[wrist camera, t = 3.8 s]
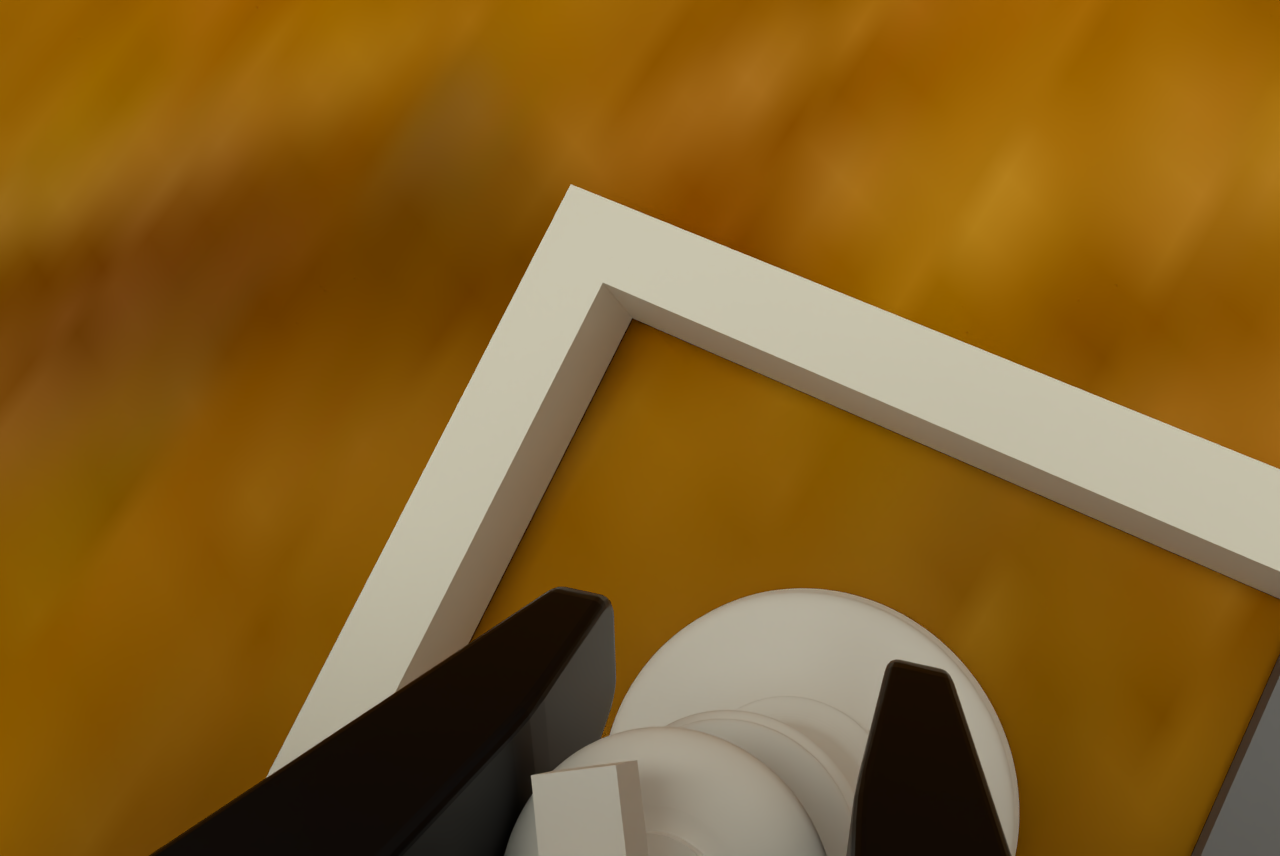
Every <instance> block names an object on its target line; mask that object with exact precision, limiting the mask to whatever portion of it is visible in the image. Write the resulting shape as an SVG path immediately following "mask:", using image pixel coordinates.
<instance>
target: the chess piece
mask: <svg viewBox="0 0 1280 856" xmlns="http://www.w3.org/2000/svg"><path fill="white" fill-rule="evenodd" d="M895 659H898V660H904V661H908V662H913V663H917V664H922V665H927V666H931V667H936V668H940V669H943V670H945V671H946V672H947V673H949V674H950V676H951V678H952V680H953V682H954V685H955V688H956V691H957V694H958V697H959V700H960V703H961V706H962V709H963V712H964V715H965V718H966V721H967V724H968V727H969V730H970V733H971V736H972V739H973V742H974V745H975V748H976V751H977V754H978V757H979V760H980V763H981V766H982V769H983V772H984V775H985V778H986V781H987V784H988V787H989V790H990V793H991V796H992V799H993V802H994V805H995V808H996V811H997V814H998V817H999V820H1000V823H1001V826H1002V829H1003V832H1004V835H1005V838H1006V841H1007V844H1008V847H1009V850H1010V853H1011V856H1015V854H1016V849H1017V842H1018V833H1019V793H1018V784H1017V777H1016V772H1015V767H1014V762H1013V758H1012V754H1011V751H1010V747H1009V744H1008V741H1007V738H1006V735H1005V733H1004V730H1003V727H1002V725H1001V723H1000V720H999V718H998V716H997V714H996V712H995V710H994V708H993V706H992V704H991V702H990V701H989V699H988V697H987V696H986V694H985V692H984V691H983V689H982V688H981V686H980V685H979V683H978V682H977V680H976V679H975V678H974V676H973V675H972V674H971V672H970V671H969V670H968V669H967V667H966V666H965V665H964V664H963V663H962V662H961V660H960V659H959V658H958V657H957V656H956V655H955V654H954V653H953V652H952V651H951V650H950V649H949V648H948V647H947V646H946V645H945V644H944V643H942V642H941V641H940V640H939V639H938V638H937V637H935V636H934V635H933V634H932V633H930V632H929V631H928V630H926V629H925V628H924V627H922V626H921V625H919V624H918V623H916V622H915V621H913V620H911V619H910V618H908V617H906V616H905V615H903V614H901V613H899V612H897V611H895V610H893V609H891V608H889V607H887V606H885V605H882V604H880V603H877V602H875V601H872V600H869V599H866V598H863V597H860V596H856V595H852V594H848V593H844V592H839V591H833V590H825V589H813V588H793V589H781V590H773V591H767V592H762V593H758V594H754V595H750V596H747V597H743V598H740V599H738V600H735V601H732V602H730V603H727V604H725V605H723V606H721V607H718V608H716V609H714V610H712V611H711V612H709V613H707V614H705V615H704V616H702V617H700V618H698V619H697V620H695V621H693V622H692V623H690V624H689V625H687V626H686V627H685V628H683V629H682V630H681V631H679V632H678V633H677V634H676V635H674V636H673V637H672V638H671V639H670V640H668V641H667V642H666V643H665V644H664V645H663V646H662V647H661V648H660V649H659V650H658V651H657V652H656V653H655V654H654V655H653V657H652V658H651V659H650V660H649V661H648V662H647V664H646V665H645V666H644V668H643V669H642V670H641V672H640V673H639V674H638V676H637V677H636V679H635V680H634V682H633V683H632V685H631V687H630V688H629V690H628V692H627V694H626V696H625V698H624V700H623V702H622V704H621V706H620V708H619V710H618V713H617V715H616V718H615V720H614V723H613V726H612V729H611V732H610V735H609V736H607V737H604V738H602V739H599V740H597V741H595V742H593V743H591V744H589V745H587V746H585V747H584V748H582V749H580V750H579V751H577V752H575V753H574V754H573V755H571V756H570V757H568V758H567V759H566V760H564V761H563V762H562V763H561V764H560V765H558V766H557V767H556V768H555V769H554V770H553V771H550V772H545V773H540V774H535V775H531V782H532V792H533V794H532V795H531V797H530V798H529V800H528V801H527V803H526V805H525V806H524V808H523V810H522V811H521V813H520V815H519V817H518V819H517V821H516V823H515V825H514V828H513V830H512V833H511V835H510V838H509V841H508V844H507V847H506V850H505V854H504V856H846V854H847V846H848V838H849V830H850V823H851V815H852V807H853V800H854V794H855V789H856V784H857V779H858V775H859V771H860V767H861V763H862V759H863V755H864V751H865V747H866V743H867V739H868V735H869V731H870V727H871V723H872V719H873V715H874V711H875V707H876V703H877V699H878V696H879V692H880V688H881V684H882V680H883V676H884V672H885V669H886V666H887V664H888V663H889V662H890V661H892V660H895Z"/></svg>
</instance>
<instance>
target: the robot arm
mask: <svg viewBox="0 0 1280 856" xmlns="http://www.w3.org/2000/svg"><path fill="white" fill-rule="evenodd" d="M615 684H616V664H615V636H614V613H613V608H612V605H611V602H610V600H609V599H608V598H606V597H605V596H603V595H600V594H596V593H591V592H587V591H582V590H577V589H573V588H568V587H557V588H554V589H551V590H549V591H547V592H546V593H544V594H543V595H541V596H540V597H538V598H537V599H535V600H534V601H532V602H531V603H529V604H528V605H526V606H525V607H523V608H522V609H520V610H519V611H517V612H516V613H514V614H513V615H511V616H510V617H508V618H507V619H505V620H504V621H502V622H501V623H499V624H498V625H496V626H495V627H493V628H492V629H490V630H489V631H487V632H486V633H484V634H483V635H481V636H480V637H478V638H477V639H475V640H474V641H472V642H471V643H469V644H468V645H466V646H465V647H463V648H461V649H460V650H458V651H457V652H455V653H454V654H452V655H451V656H449V657H448V658H446V659H445V660H443V661H442V662H440V663H439V664H437V665H436V666H434V667H433V668H431V669H430V670H428V671H427V672H425V673H424V674H422V675H421V676H419V677H418V678H416V679H415V680H413V681H412V682H410V683H409V684H407V685H406V686H404V687H403V688H401V689H400V690H398V691H397V692H395V693H394V694H392V695H391V696H389V697H388V698H386V699H385V700H383V701H382V702H380V703H379V704H377V705H376V706H374V707H373V708H371V709H369V710H368V711H366V712H365V713H363V714H362V715H360V716H359V717H357V718H356V719H354V720H353V721H351V722H350V723H348V724H347V725H345V726H344V727H342V728H341V729H339V730H338V731H336V732H335V733H333V734H332V735H330V736H329V737H327V738H326V739H324V740H323V741H321V742H320V743H318V744H317V745H315V746H314V747H312V748H311V749H309V750H308V751H306V752H305V753H303V754H302V755H300V756H299V757H297V758H296V759H294V760H293V761H291V762H290V763H288V764H287V765H285V766H284V767H282V768H281V769H279V770H277V771H276V772H274V773H273V774H271V775H270V776H268V777H267V778H265V779H264V780H262V781H261V782H259V783H258V784H256V785H255V786H253V787H252V788H250V789H249V790H247V791H246V792H244V793H243V794H241V795H240V796H238V797H237V798H235V799H234V800H232V801H231V802H229V803H228V804H226V805H225V806H223V807H222V808H220V809H219V810H217V811H216V812H214V813H213V814H211V815H210V816H208V817H207V818H205V819H204V820H202V821H201V822H199V823H198V824H196V825H195V826H193V827H192V828H190V829H189V830H187V831H186V832H184V833H182V834H181V835H179V836H178V837H176V838H175V839H173V840H172V841H170V842H169V843H167V844H166V845H164V846H163V847H161V848H160V849H158V850H157V851H155V852H154V853H152V854H151V855H149V856H504V854H505V850H506V847H507V844H508V841H509V838H510V835H511V833H512V830H513V828H514V825H515V823H516V821H517V819H518V817H519V815H520V813H521V811H522V810H523V808H524V806H525V805H526V803H527V801H528V800H529V798H530V797H531V795H532V794H533V792H532V782H531V775H535V774H540V773H545V772H550V771H553V770H554V769H555V768H556V767H557V766H558V765H560V764H561V763H562V762H563V761H564V760H566V759H567V758H568V757H570V756H571V755H573V754H574V753H575V752H577V751H579V750H580V749H582V748H584V747H585V746H587V745H589V744H591V743H593V742H595V741H597V740H599V739H601V736H602V733H603V730H604V727H605V724H606V721H607V718H608V715H609V712H610V709H611V706H612V701H613V697H614V692H615ZM846 856H1011V853H1010V850H1009V847H1008V844H1007V841H1006V838H1005V835H1004V832H1003V829H1002V826H1001V823H1000V820H999V817H998V814H997V811H996V808H995V805H994V802H993V799H992V796H991V793H990V790H989V787H988V784H987V781H986V778H985V775H984V772H983V769H982V766H981V763H980V760H979V757H978V754H977V751H976V748H975V745H974V742H973V739H972V736H971V733H970V730H969V727H968V724H967V721H966V718H965V715H964V712H963V709H962V706H961V703H960V700H959V697H958V694H957V691H956V688H955V685H954V682H953V680H952V678H951V676H950V674H949V673H947V672H946V671H945V670H943V669H940V668H936V667H931V666H927V665H922V664H917V663H913V662H908V661H904V660H898V659H895V660H892V661H890V662H889V663H888V664H887V666H886V669H885V672H884V676H883V680H882V684H881V688H880V692H879V696H878V699H877V703H876V707H875V711H874V715H873V719H872V723H871V727H870V731H869V735H868V739H867V743H866V747H865V751H864V755H863V759H862V763H861V767H860V771H859V775H858V779H857V784H856V789H855V794H854V800H853V807H852V815H851V823H850V830H849V838H848V846H847V854H846Z"/></svg>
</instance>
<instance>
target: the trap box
mask: <svg viewBox="0 0 1280 856" xmlns="http://www.w3.org/2000/svg"><path fill="white" fill-rule="evenodd" d="M632 318H633V319H635V320H638V321H640V322H642V323H645V324H647V325H649V326H652V327H654V328H656V329H658V330H661V331H663V332H665V333H668V334H670V335H672V336H675V337H677V338H679V339H681V340H684V341H686V342H688V343H691V344H693V345H695V346H698V347H700V348H702V349H705V350H707V351H709V352H711V353H714V354H716V355H718V356H721V357H723V358H725V359H728V360H730V361H732V362H734V363H737V364H739V365H741V366H744V367H746V368H748V369H751V370H753V371H755V372H758V373H760V374H762V375H764V376H767V377H769V378H771V379H774V380H776V381H778V382H781V383H783V384H785V385H788V386H790V387H792V388H794V389H797V390H799V391H801V392H804V393H806V394H808V395H811V396H813V397H815V398H817V399H820V400H822V401H824V402H827V403H829V404H831V405H834V406H836V407H838V408H841V409H843V410H845V411H847V412H850V413H852V414H854V415H857V416H859V417H861V418H864V419H866V420H868V421H871V422H873V423H875V424H877V425H880V426H882V427H884V428H887V429H889V430H891V431H894V432H896V433H898V434H900V435H903V436H905V437H907V438H910V439H912V440H914V441H917V442H919V443H921V444H924V445H926V446H928V447H930V448H933V449H935V450H937V451H940V452H942V453H944V454H947V455H949V456H951V457H953V458H956V459H958V460H960V461H963V462H965V463H967V464H970V465H972V466H974V467H977V468H979V469H981V470H983V471H986V472H988V473H990V474H993V475H995V476H997V477H1000V478H1002V479H1004V480H1007V481H1009V482H1011V483H1013V484H1016V485H1018V486H1020V487H1023V488H1025V489H1027V490H1030V491H1032V492H1034V493H1036V494H1039V495H1041V496H1043V497H1046V498H1048V499H1050V500H1053V501H1055V502H1057V503H1060V504H1062V505H1064V506H1066V507H1069V508H1071V509H1073V510H1076V511H1078V512H1080V513H1083V514H1085V515H1087V516H1090V517H1092V518H1094V519H1096V520H1099V521H1101V522H1103V523H1106V524H1108V525H1110V526H1113V527H1115V528H1117V529H1119V530H1122V531H1124V532H1126V533H1129V534H1131V535H1133V536H1136V537H1138V538H1140V539H1143V540H1145V541H1147V542H1149V543H1152V544H1154V545H1156V546H1159V547H1161V548H1163V549H1166V550H1168V551H1170V552H1173V553H1175V554H1177V555H1179V556H1182V557H1184V558H1186V559H1189V560H1191V561H1193V562H1196V563H1198V564H1200V565H1202V566H1205V567H1207V568H1209V569H1212V570H1214V571H1216V572H1219V573H1221V574H1223V575H1226V576H1228V577H1230V578H1232V579H1235V580H1237V581H1239V582H1242V583H1244V584H1246V585H1249V586H1251V587H1253V588H1255V589H1258V590H1260V591H1262V592H1265V593H1267V594H1269V595H1272V596H1274V597H1276V598H1279V599H1280V469H1277V468H1275V467H1273V466H1270V465H1268V464H1265V463H1263V462H1260V461H1258V460H1255V459H1253V458H1250V457H1248V456H1245V455H1243V454H1240V453H1238V452H1235V451H1233V450H1230V449H1228V448H1225V447H1223V446H1220V445H1218V444H1215V443H1213V442H1210V441H1208V440H1205V439H1203V438H1200V437H1198V436H1195V435H1193V434H1190V433H1188V432H1185V431H1183V430H1180V429H1178V428H1176V427H1173V426H1171V425H1168V424H1166V423H1163V422H1161V421H1158V420H1156V419H1153V418H1151V417H1148V416H1146V415H1143V414H1141V413H1138V412H1136V411H1133V410H1131V409H1128V408H1126V407H1123V406H1121V405H1118V404H1116V403H1113V402H1111V401H1108V400H1106V399H1103V398H1101V397H1098V396H1096V395H1093V394H1091V393H1088V392H1086V391H1083V390H1081V389H1079V388H1076V387H1074V386H1071V385H1069V384H1066V383H1064V382H1061V381H1059V380H1056V379H1054V378H1051V377H1049V376H1046V375H1044V374H1041V373H1039V372H1036V371H1034V370H1031V369H1029V368H1026V367H1024V366H1021V365H1019V364H1016V363H1014V362H1011V361H1009V360H1006V359H1004V358H1001V357H999V356H996V355H994V354H991V353H989V352H986V351H984V350H982V349H979V348H977V347H974V346H972V345H969V344H967V343H964V342H962V341H959V340H957V339H954V338H952V337H949V336H947V335H944V334H942V333H939V332H937V331H934V330H932V329H929V328H927V327H924V326H922V325H919V324H917V323H914V322H912V321H909V320H907V319H904V318H902V317H899V316H897V315H894V314H892V313H889V312H887V311H885V310H882V309H880V308H877V307H875V306H872V305H870V304H867V303H865V302H862V301H860V300H857V299H855V298H852V297H850V296H847V295H845V294H842V293H840V292H837V291H835V290H832V289H830V288H827V287H825V286H822V285H820V284H817V283H815V282H812V281H810V280H807V279H805V278H802V277H800V276H797V275H795V274H792V273H790V272H787V271H785V270H783V269H780V268H778V267H775V266H773V265H770V264H768V263H765V262H763V261H760V260H758V259H755V258H753V257H750V256H748V255H745V254H743V253H740V252H738V251H735V250H733V249H730V248H728V247H725V246H723V245H720V244H718V243H715V242H713V241H710V240H708V239H705V238H703V237H700V236H698V235H695V234H693V233H690V232H688V231H686V230H683V229H681V228H678V227H676V226H673V225H671V224H668V223H666V222H663V221H661V220H658V219H656V218H653V217H651V216H648V215H646V214H643V213H641V212H638V211H636V210H633V209H631V208H628V207H626V206H623V205H621V204H618V203H616V202H613V201H611V200H608V199H606V198H603V197H601V196H598V195H596V194H593V193H591V192H589V191H586V190H584V189H581V188H579V187H576V186H574V185H570V187H569V189H568V191H567V193H566V195H565V197H564V199H563V201H562V202H561V204H560V206H559V208H558V210H557V212H556V214H555V216H554V218H553V220H552V222H551V224H550V226H549V228H548V230H547V232H546V234H545V236H544V238H543V239H542V241H541V243H540V245H539V247H538V249H537V251H536V253H535V255H534V257H533V259H532V261H531V263H530V265H529V267H528V269H527V271H526V273H525V275H524V276H523V278H522V280H521V282H520V284H519V286H518V288H517V290H516V292H515V294H514V296H513V298H512V300H511V302H510V304H509V306H508V308H507V310H506V312H505V314H504V315H503V317H502V319H501V321H500V323H499V325H498V327H497V329H496V331H495V333H494V335H493V337H492V339H491V341H490V343H489V345H488V347H487V349H486V351H485V352H484V354H483V356H482V358H481V360H480V362H479V364H478V366H477V368H476V370H475V372H474V374H473V376H472V378H471V380H470V382H469V384H468V386H467V388H466V389H465V391H464V393H463V395H462V397H461V399H460V401H459V403H458V405H457V407H456V409H455V411H454V413H453V415H452V417H451V419H450V421H449V423H448V425H447V426H446V428H445V430H444V432H443V434H442V436H441V438H440V440H439V442H438V444H437V446H436V448H435V450H434V452H433V454H432V456H431V458H430V460H429V462H428V463H427V465H426V467H425V469H424V471H423V473H422V475H421V477H420V479H419V481H418V483H417V485H416V487H415V489H414V491H413V493H412V495H411V497H410V499H409V500H408V502H407V504H406V506H405V508H404V510H403V512H402V514H401V516H400V518H399V520H398V522H397V524H396V526H395V528H394V530H393V532H392V534H391V536H390V537H389V539H388V541H387V543H386V545H385V547H384V549H383V551H382V553H381V555H380V557H379V559H378V561H377V563H376V565H375V567H374V569H373V571H372V573H371V574H370V576H369V578H368V580H367V582H366V584H365V586H364V588H363V590H362V592H361V594H360V596H359V598H358V600H357V602H356V604H355V606H354V608H353V610H352V611H351V613H350V615H349V617H348V619H347V621H346V623H345V625H344V627H343V629H342V631H341V633H340V635H339V637H338V639H337V641H336V643H335V645H334V647H333V648H332V650H331V652H330V654H329V656H328V658H327V660H326V662H325V664H324V666H323V668H322V670H321V672H320V674H319V676H318V678H317V680H316V682H315V684H314V686H313V687H312V689H311V691H310V693H309V695H308V697H307V699H306V701H305V703H304V705H303V707H302V709H301V711H300V713H299V715H298V717H297V719H296V721H295V723H294V724H293V726H292V728H291V730H290V732H289V734H288V736H287V738H286V740H285V742H284V744H283V746H282V748H281V750H280V752H279V754H278V756H277V758H276V760H275V761H274V763H273V765H272V767H271V769H270V771H269V773H268V775H267V777H268V776H270V775H271V774H273V773H274V772H276V771H277V770H279V769H281V768H282V767H284V766H285V765H287V764H288V763H290V762H291V761H293V760H294V759H296V758H297V757H299V756H300V755H302V754H303V753H305V752H306V751H308V750H309V749H311V748H312V747H314V746H315V745H317V744H318V743H320V742H321V741H323V740H324V739H326V738H327V737H329V736H330V735H332V734H333V733H335V732H336V731H338V730H339V729H341V728H342V727H344V726H345V725H347V724H348V723H350V722H351V721H353V720H354V719H356V718H357V717H359V716H360V715H362V714H363V713H365V712H366V711H368V710H369V709H371V708H373V707H374V706H376V705H377V704H379V703H380V702H382V701H383V700H385V699H386V698H388V697H389V696H391V695H392V694H394V693H395V692H397V691H398V690H400V689H401V688H403V687H404V686H406V685H407V684H409V683H410V682H412V681H413V680H415V679H416V678H418V677H419V676H421V675H422V674H424V673H425V672H427V671H428V670H430V669H431V668H433V667H434V666H436V665H437V664H439V663H440V662H442V661H443V660H445V659H446V658H448V657H449V656H451V655H452V654H454V653H455V652H457V651H458V650H460V649H461V648H463V647H465V646H466V645H468V644H469V642H470V640H471V638H472V636H473V634H474V632H475V630H476V628H477V626H478V624H479V622H480V620H481V618H482V616H483V614H484V612H485V610H486V608H487V606H488V604H489V602H490V600H491V598H492V596H493V594H494V592H495V590H496V588H497V586H498V584H499V582H500V580H501V578H502V576H503V574H504V572H505V570H506V568H507V566H508V564H509V562H510V560H511V558H512V556H513V554H514V552H515V550H516V548H517V546H518V544H519V542H520V540H521V538H522V536H523V534H524V532H525V530H526V528H527V526H528V524H529V522H530V520H531V518H532V516H533V514H534V512H535V510H536V508H537V506H538V504H539V502H540V500H541V498H542V496H543V494H544V492H545V490H546V489H547V487H548V485H549V483H550V481H551V479H552V477H553V475H554V473H555V471H556V469H557V467H558V465H559V463H560V461H561V459H562V457H563V455H564V453H565V451H566V449H567V447H568V445H569V443H570V441H571V439H572V437H573V435H574V433H575V431H576V429H577V427H578V425H579V423H580V421H581V419H582V417H583V415H584V413H585V411H586V409H587V407H588V405H589V403H590V401H591V399H592V397H593V395H594V393H595V391H596V389H597V387H598V385H599V383H600V381H601V379H602V377H603V375H604V373H605V371H606V369H607V367H608V365H609V363H610V361H611V359H612V357H613V355H614V353H615V351H616V349H617V347H618V345H619V343H620V341H621V339H622V337H623V335H624V333H625V331H626V329H627V328H628V326H629V324H630V322H631V320H632ZM267 777H266V778H267ZM1191 856H1280V655H1279V658H1278V660H1277V662H1276V664H1275V667H1274V669H1273V671H1272V673H1271V676H1270V678H1269V680H1268V683H1267V685H1266V687H1265V689H1264V692H1263V694H1262V696H1261V698H1260V701H1259V703H1258V705H1257V708H1256V710H1255V712H1254V714H1253V717H1252V719H1251V721H1250V723H1249V726H1248V728H1247V730H1246V733H1245V735H1244V737H1243V739H1242V742H1241V744H1240V746H1239V748H1238V751H1237V753H1236V755H1235V758H1234V760H1233V762H1232V764H1231V767H1230V769H1229V771H1228V774H1227V776H1226V778H1225V780H1224V783H1223V785H1222V787H1221V789H1220V792H1219V794H1218V796H1217V799H1216V801H1215V803H1214V805H1213V808H1212V810H1211V812H1210V814H1209V817H1208V819H1207V821H1206V824H1205V826H1204V828H1203V830H1202V833H1201V835H1200V837H1199V839H1198V842H1197V844H1196V846H1195V849H1194V851H1193V853H1192V855H1191Z"/></svg>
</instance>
